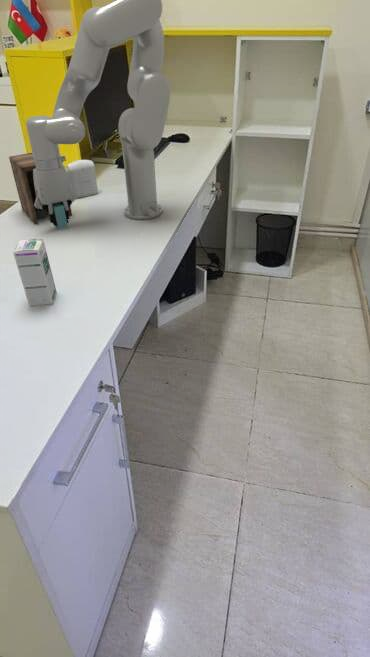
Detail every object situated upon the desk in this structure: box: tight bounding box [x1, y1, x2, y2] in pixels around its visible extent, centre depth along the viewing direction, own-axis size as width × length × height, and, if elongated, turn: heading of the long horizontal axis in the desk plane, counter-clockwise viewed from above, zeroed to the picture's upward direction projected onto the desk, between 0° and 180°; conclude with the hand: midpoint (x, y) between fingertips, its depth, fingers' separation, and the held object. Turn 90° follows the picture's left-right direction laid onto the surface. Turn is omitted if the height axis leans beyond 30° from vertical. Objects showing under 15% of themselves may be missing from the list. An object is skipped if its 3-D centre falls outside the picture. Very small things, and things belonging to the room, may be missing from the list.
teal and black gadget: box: [33, 202, 69, 230], centre depth 145 cm, size 21×10×7 cm, turn 32°
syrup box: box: [12, 238, 57, 306], centre depth 104 cm, size 6×6×14 cm
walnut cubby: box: [8, 152, 73, 226], centre depth 146 cm, size 14×13×18 cm
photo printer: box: [65, 159, 99, 199], centre depth 160 cm, size 10×4×12 cm, turn 123°
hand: (60, 222), depth 140 cm, fingers closed on teal and black gadget, 3 cm apart
